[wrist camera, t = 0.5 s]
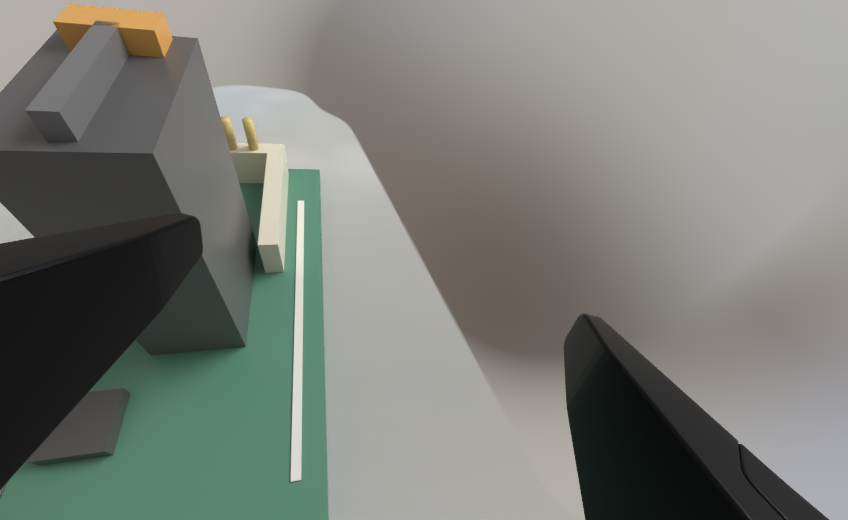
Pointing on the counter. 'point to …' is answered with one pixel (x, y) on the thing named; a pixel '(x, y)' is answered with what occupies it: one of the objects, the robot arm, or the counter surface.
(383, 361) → the counter surface
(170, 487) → the board
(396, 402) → the counter surface
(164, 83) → the grey tall block
